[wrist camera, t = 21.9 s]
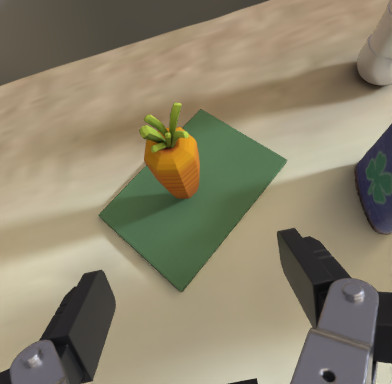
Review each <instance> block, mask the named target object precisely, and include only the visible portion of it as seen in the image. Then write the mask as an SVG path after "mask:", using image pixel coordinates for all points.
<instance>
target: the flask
mask: <svg viewBox="0 0 392 384" xmlns="http://www.w3.org/2000/svg"><path fill="white" fill-rule="evenodd" d="M354 174H355V182H356V189H357V191H358V195H359V197H360V202H361V204H362V207H363V210H364V212H365V214H366V217H367V220H368V222H369V224H370V225H371V226H372V228H373V229H375V231H376V232H379V233H382V234H384V233H385V234H389V233H392V124H391V125H390V126H389V128H388V129H387V130H386V131H385V132H384V133H383V134H382V136H381V137H380V138H379V139H378V140H377V142H376V143H375V144H374V145H373V146H372V147H371V148H370V149H369V151H368V152H367V153H366V154H365V156H364V157H363V158H362V159H361V160H360V161H359V162H358V163H357V165H356V166H355V173H354Z"/></svg>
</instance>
